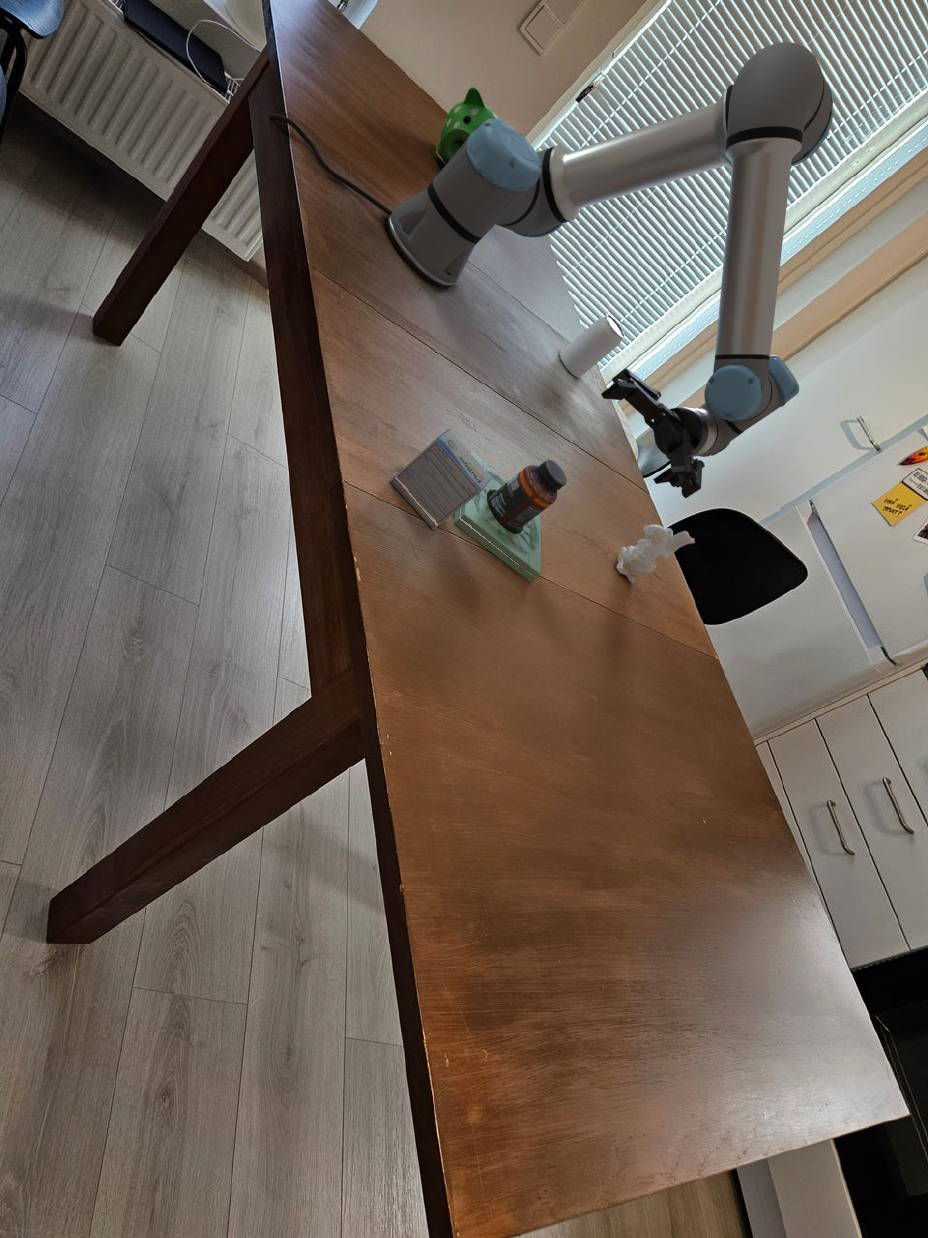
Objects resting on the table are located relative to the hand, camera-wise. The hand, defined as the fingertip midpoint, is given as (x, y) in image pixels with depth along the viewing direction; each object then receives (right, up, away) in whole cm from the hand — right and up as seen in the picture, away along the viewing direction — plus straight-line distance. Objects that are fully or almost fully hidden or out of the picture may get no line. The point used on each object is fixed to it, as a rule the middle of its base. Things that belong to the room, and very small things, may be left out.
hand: (636, 432), depth 106 cm
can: (-1, +27, +57) cm, 63 cm away
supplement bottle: (-19, -11, +3) cm, 22 cm away
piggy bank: (-26, +72, +65) cm, 100 cm away
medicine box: (-29, -10, -9) cm, 32 cm away
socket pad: (-19, -11, +3) cm, 22 cm away
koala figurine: (+3, -17, +25) cm, 31 cm away
